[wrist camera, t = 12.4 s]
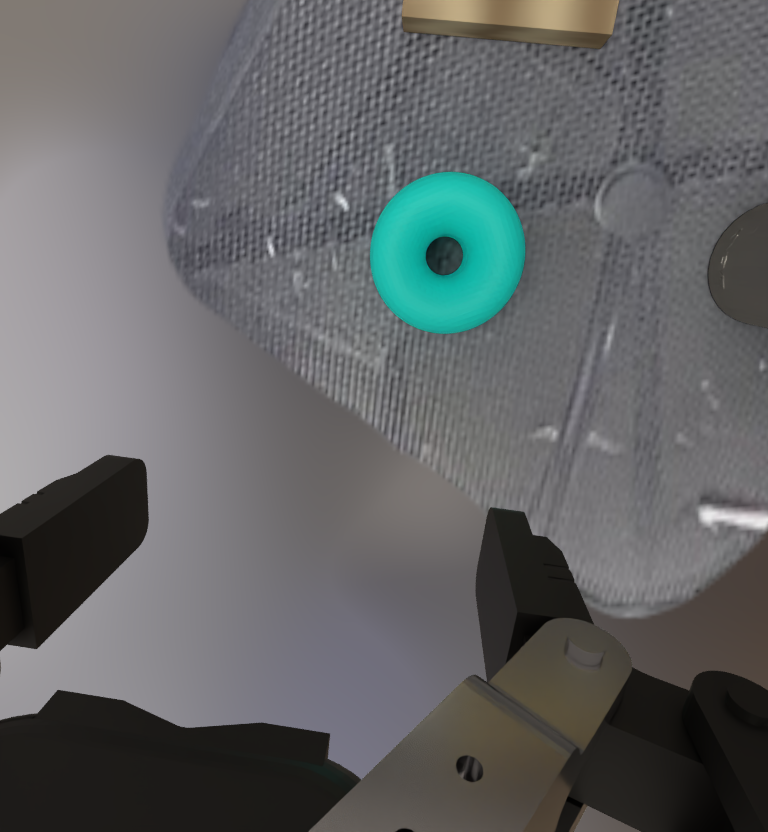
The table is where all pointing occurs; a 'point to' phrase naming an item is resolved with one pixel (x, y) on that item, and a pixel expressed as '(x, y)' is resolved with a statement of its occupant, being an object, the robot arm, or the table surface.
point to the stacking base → (515, 20)
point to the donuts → (480, 241)
